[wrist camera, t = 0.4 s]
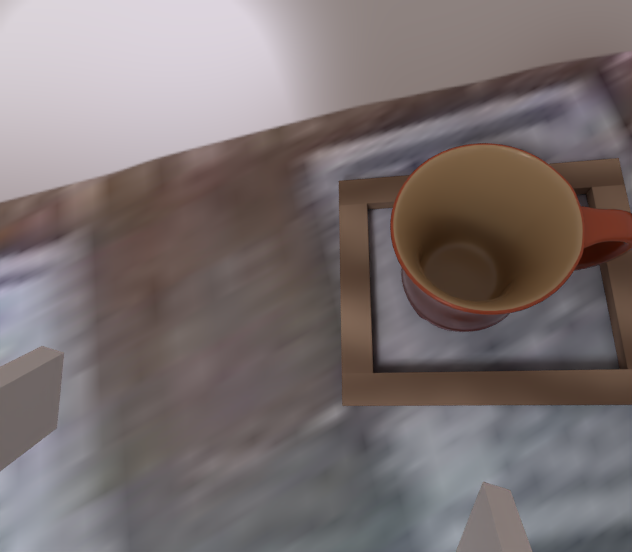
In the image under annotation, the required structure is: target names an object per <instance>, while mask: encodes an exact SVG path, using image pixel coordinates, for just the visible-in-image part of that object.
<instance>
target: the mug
mask: <svg viewBox="0 0 632 552" xmlns="http://www.w3.org/2000/svg"><path fill="white" fill-rule="evenodd" d="M390 230H391V239H392V244H393V248H394V251H395V254H396V256H397V259H398V261H399V263H400V265H401V267H402V269H401V276H402V283H403V287H404V291H405V293H406V295H407V298H408V300H409V302H410V304H411V305H412V307H413V308H414V310H415V311H416V312H417V314H418V315H419V316H420V317H421V318H423V319H425V320H427V321H428V322H430V323H431V324H433V325H435V326H437V327H439V328H442V329H445V330H449V331H455V332H469V331H477V330H482V329H486V328H488V327H491V326H493V325H495V324H497V323H499V322H500V321H502V320H503V319H504V318H506V317H507V316H508V315H509V314H510V313H513V312H517V311H521V310H524V309H526V308H529V307H532V306H534V305H536V304H538V303H540V302H542V301H543V300H545V299H547V298H548V297H550V296H551V295H552V294H554V293H555V292H556V291H557V290H558V289H559V288H560V287H561V286H562V285H563V284H564V283H565V282H566V281H567V280H568V278H569V277H570V276H571V274H572V273H573V271H576V270H581V269H585V268H590V267H594V266H597V265H601V264H604V263H607V262H609V261H612V260H614V259H616V258H619V257H620V256H622V255H624V254H626V253H627V252H629V251H630V250H632V213H631V212H628V211H625V210H619V209H595V208H590V207H584V206H581V205H580V203H579V200H578V198H577V195H576V193H575V191H574V189H573V188H572V186H571V185H570V184H569V182H568V181H567V180H566V179H565V178H564V177H563V176H562V175H561V174H560V173H559V172H558V171H556V170H555V169H554V168H553V167H552V166H550V165H549V164H548V163H546V162H545V161H543V160H542V159H540V158H538V157H537V156H535V155H533V154H531V153H528V152H526V151H523V150H521V149H518V148H514V147H511V146H506V145H500V144H490V143H478V144H468V145H463V146H458V147H455V148H451V149H448V150H446V151H443V152H441V153H439V154H437V155H435V156H433V157H431V158H430V159H428V160H427V161H425V162H424V163H423V164H421V165H420V166H419V167H418V168H417V169H416V170H414V171H413V173H412V174H411V175H410V176H409V177H408V178H407V180H406V181H405V182H404V184H403V185H402V187H401V189H400V190H399V193H398V195H397V197H396V199H395V202H394V205H393V209H392V213H391V224H390Z"/></svg>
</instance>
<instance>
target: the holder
mask: <svg viewBox="0 0 632 552" xmlns="http://www.w3.org/2000/svg"><path fill="white" fill-rule="evenodd" d="M549 165H550V166H552V167H553V168H554V169H555V170H556V171H558V172H559V173H560V174H561V175H562V176H563V177H564V178H565V179H566V180H567V181H568V182H569V184H570V185H571V186H572V188H573V189H574V191H575V193H576V195H579V194H586V196H587V202H588V207H590V208H595V209H619V210H625V211H628V212H630V207H629V203H628V198H627V194H626V189H625V185H624V180H623V176H622V171H621V167H620V162H619V158H615V159H603V160H590V161H578V162H566V163H553V164H549ZM409 176H410V175H406V176H394V177H381V178H369V179H357V180H344V181H339V222H340V285H341V348H342V405H343V406H430V405H632V250H630V251H629V252H627V253H626V254H624V255H622V256H620V257H619V258H616V259H614V260H612V261H609V262H607V263H604V264H601V265H600V269H601V274H602V280H603V285H604V290H605V295H606V300H607V306H608V311H609V316H610V321H611V326H612V332H613V337H614V342H615V347H616V352H617V357H618V363H619V368H620V369H612V370H544V371H476V372H407V373H374V372H373V345H372V317H371V289H370V261H369V233H368V209H381V208H393V205H394V202H395V199H396V197H397V195H398V193H399V190H400V189H401V187H402V185H403V184H404V182H405V181H406V180H407V178H408V177H409Z"/></svg>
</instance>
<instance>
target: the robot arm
mask: <svg viewBox="0 0 632 552" xmlns="http://www.w3.org/2000/svg"><path fill="white" fill-rule="evenodd" d="M63 358H64V353H63V352H60V351H57V350H53V349H50V348H47V347H44V346H41V347H39V348H37V349H35V350H33V351H31V352H29V353H27V354H25V355H23V356H21V357H19V358H17V359H15V360H13V361H11V362H9V363H7V364H5V365H3V366H1V367H0V471H1V470H3V469H4V468H5V467H7V466H8V465H9V464H10V463H12V462H13V461H14V460H16V459H17V458H18V457H20V456H21V455H22V454H24V453H25V452H26V451H28V450H29V449H30V448H31V447H33V446H34V445H35V444H37V443H38V442H39V441H41V440H42V439H43V438H45V437H46V436H47V435H48V434H50V433H51V432H52V431H54V430H55V429H56V428H57V421H58V411H59V400H60V390H61V379H62V368H63ZM456 552H532V549H531V547H530V544H529V541H528V538H527V536H526V533H525V530H524V527H523V524H522V522H521V519H520V516H519V513H518V510H517V508H516V505H515V502H514V499H513V497H512V494H511V491H510V490H508V489H504V488H501V487H498V486H495V485H491V484H488V483H485V482H483V483H482V486H481V488H480V491H479V493H478V496H477V499H476V501H475V504H474V506H473V509H472V511H471V514H470V517H469V519H468V522H467V524H466V527H465V529H464V532H463V535H462V537H461V540H460V542H459V545H458V548H457V550H456Z"/></svg>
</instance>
